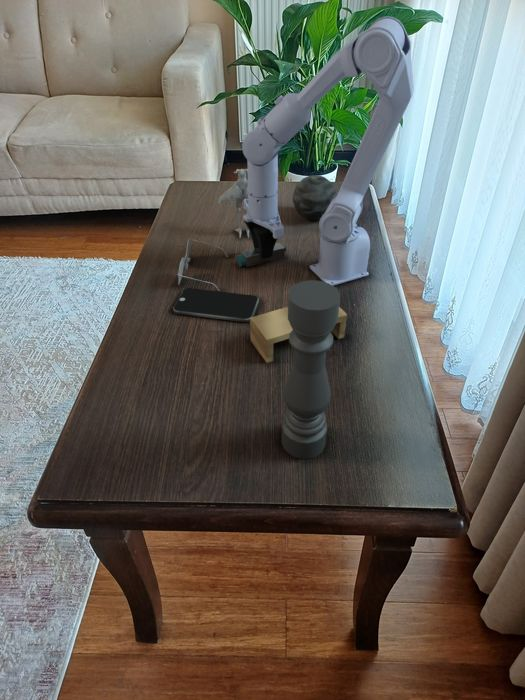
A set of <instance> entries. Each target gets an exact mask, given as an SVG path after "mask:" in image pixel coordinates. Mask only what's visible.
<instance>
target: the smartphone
mask: <svg viewBox="0 0 525 700" xmlns="http://www.w3.org/2000/svg"><path fill="white" fill-rule="evenodd" d="M259 301H260V299H259V296H258V297H257V296H256V295H252V294H244V293H243V294H242V293H235V292H234V293H233V292H225V291H218V290H217V291H216V290H209V289H198V288H191V287H190V288H185V289H183V290H182V291H181V293H180V295H179V297H178V298H177V300H176V302H175V304H174V306H173V307H172V309H173V310H172V311H173V313H174V314H177V315H184V316H192V317H200V318H206V319H207V318H209V319H214V320H215V319H216V320H223V321H224V320H225V321H232V322H240V323H248V322H249V323H250V318H251V317H255V313H256V311H257V308H258V305H259Z"/></svg>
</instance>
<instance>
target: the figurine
mask: <svg viewBox="0 0 525 700" xmlns="http://www.w3.org/2000/svg"><path fill="white" fill-rule="evenodd" d="M233 173H234V174H237V176H238V177H237V180H236V181H235V182H234V183H233V185H232V186H231V187H230V188H228V189H226V190H225V191H224V192H223V194H221V195H220V196H219V197H218V200H217V204H218V205H219V206H220V205H223V206H225V204H227V203H228V205H231V204H233V203H234V202H235V209H236V213H237V214H238V227H237V228H235V229H234V231H235V232H237V233H238V234H239V239H241V237H242V231H243V230H242V226H241V210H242V205H243V202H244V199H248V178H247V168H240V169H239V168H237V169H236V170H235V171H233ZM245 211H246V213H247V210H245ZM245 231H246V235H247V239H250V231H249V229H248V227H247V226H246V228H245Z"/></svg>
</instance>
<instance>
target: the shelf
mask: <svg viewBox="0 0 525 700" xmlns="http://www.w3.org/2000/svg"><path fill="white" fill-rule="evenodd" d="M347 318H348V314H347V313H346V311H345V310H343V309H342V308H341V307H340V306H339V313H338V322H337V323H336V325H335V326H334V328H333V330H332V331H331V334H332V335H333V336H335V337H336V338H337V340H341V339H344V338H345V333H346V327H347ZM249 328H250V331H249V333H250V335H249V336H250V342H251V343H252V345H253V347H254V348H255V349H256V350H257V352H258V353H259V355H260V356H261V357H262V358H263V360H264V362H265V363H266V364H268V363H272V362H274V344H276V343H279V342H282V341H287V340H289V335H290V332H291V331H292V330H293V329H292V327H291V325H290V322H289V320H288V306H285V307H281V308H279V309H275V310H271V311H269V312H265V313H261V314H257V315H254V316H253V317H251V318H250V321H249Z"/></svg>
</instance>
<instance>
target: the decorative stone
mask: <svg viewBox="0 0 525 700" xmlns="http://www.w3.org/2000/svg"><path fill="white" fill-rule="evenodd" d="M335 194H337V193H336V189H335V186H334V185H333V183H332V182H331V181H330V180H329V179H328V178H327V177H325V176H322V175H318V174H312V175H308V176H306V177H304V178H302V179H301V180H300V181H299V182H298V183H297V184H296V185H295V188H294V190H293V194H292V204H293V207H294V209H295V211H296V212H297V213H298V214H299V215H300V216H301V217H302V218H304V219H307V220H311V221H319V220H320V219H321V217H322V216H323V214H325V212H326V210H327V208H328V206H329V205H330V202H331V199H332V198H333V196H334V195H335Z"/></svg>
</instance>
